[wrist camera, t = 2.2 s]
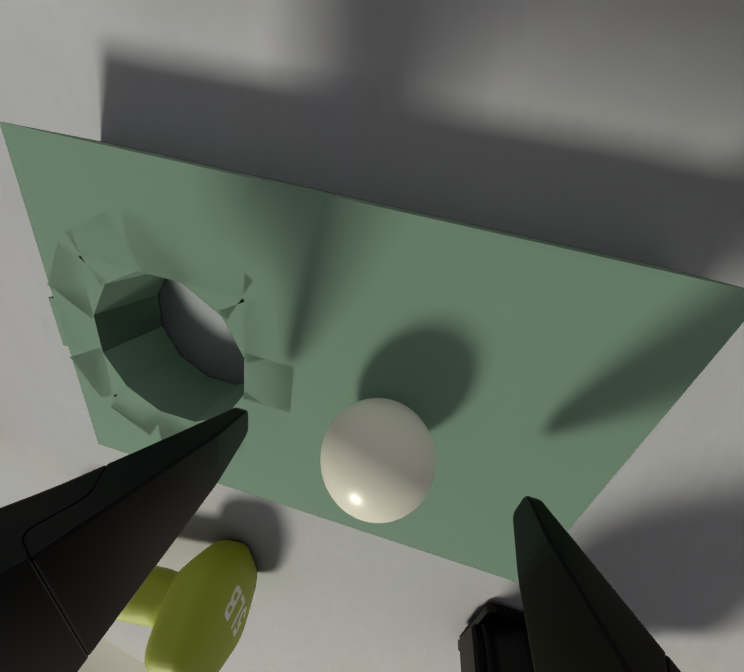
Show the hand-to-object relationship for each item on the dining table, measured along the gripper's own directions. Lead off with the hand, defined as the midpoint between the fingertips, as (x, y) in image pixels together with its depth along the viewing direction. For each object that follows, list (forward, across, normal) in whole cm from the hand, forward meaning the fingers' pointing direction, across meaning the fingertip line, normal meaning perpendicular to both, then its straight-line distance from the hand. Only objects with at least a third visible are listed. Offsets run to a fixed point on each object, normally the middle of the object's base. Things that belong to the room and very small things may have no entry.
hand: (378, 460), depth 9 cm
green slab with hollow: (+5, +3, 0) cm, 6 cm away
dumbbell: (+5, +14, +22) cm, 26 cm away
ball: (0, 0, 0) cm, 0 cm away
